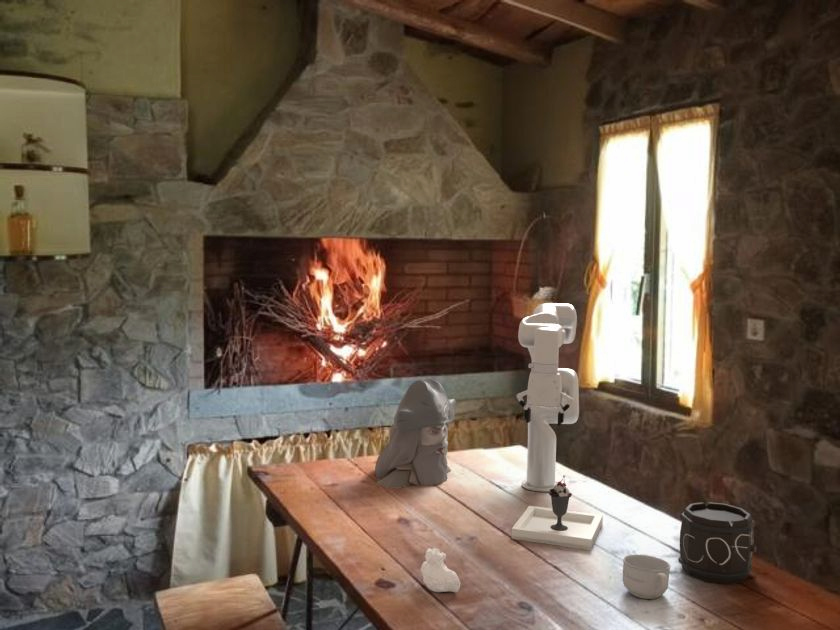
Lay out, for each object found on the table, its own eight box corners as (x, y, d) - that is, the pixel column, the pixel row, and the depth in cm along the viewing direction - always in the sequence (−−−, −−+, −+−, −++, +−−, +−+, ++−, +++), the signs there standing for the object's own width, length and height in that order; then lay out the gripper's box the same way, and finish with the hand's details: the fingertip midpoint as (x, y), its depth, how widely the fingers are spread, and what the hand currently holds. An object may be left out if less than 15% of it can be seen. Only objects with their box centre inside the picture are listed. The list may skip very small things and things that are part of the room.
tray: (529, 515, 254) (529, 505, 254) (602, 524, 246) (602, 514, 246) (511, 538, 233) (511, 528, 233) (591, 550, 226) (591, 539, 226)
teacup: (615, 585, 203) (617, 553, 202) (659, 584, 204) (660, 552, 203) (635, 610, 189) (636, 575, 189) (681, 609, 190) (683, 575, 189)
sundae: (569, 524, 243) (571, 474, 242) (571, 532, 236) (573, 480, 235) (547, 523, 244) (548, 473, 242) (548, 531, 237) (549, 479, 236)
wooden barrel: (746, 592, 200) (750, 528, 198) (671, 576, 209) (673, 514, 208) (760, 568, 215) (763, 509, 214) (689, 554, 224) (692, 496, 223)
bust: (422, 497, 270) (424, 390, 267) (348, 477, 291) (349, 378, 288) (484, 476, 295) (486, 378, 292) (411, 459, 317) (413, 367, 314)
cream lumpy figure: (420, 590, 203) (399, 561, 198) (438, 565, 207) (418, 537, 201) (455, 606, 194) (434, 577, 189) (473, 580, 198) (453, 551, 193)
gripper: (514, 368, 253) (513, 423, 255) (572, 372, 247) (570, 429, 249) (520, 364, 260) (518, 418, 262) (576, 368, 254) (574, 423, 256)
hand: (543, 423), depth 255 cm, fingers open, 9 cm apart
